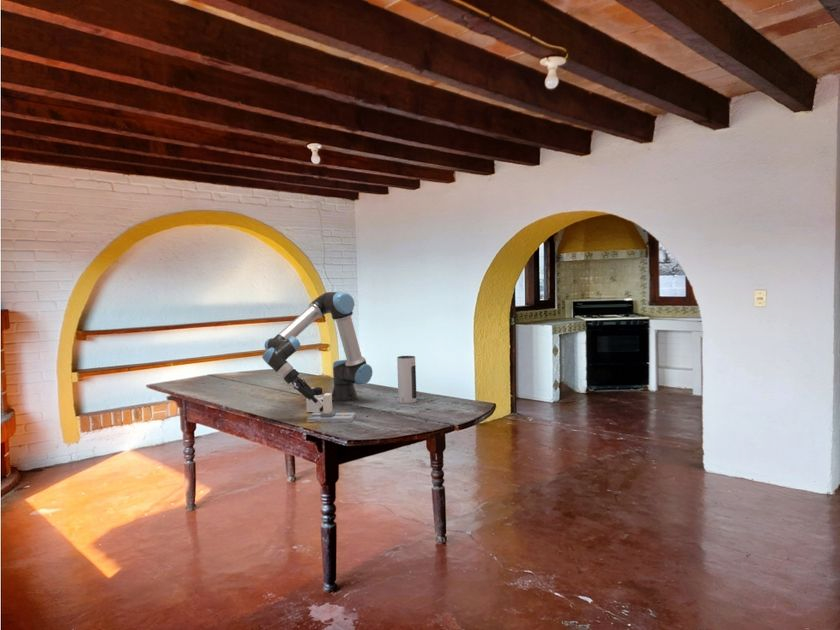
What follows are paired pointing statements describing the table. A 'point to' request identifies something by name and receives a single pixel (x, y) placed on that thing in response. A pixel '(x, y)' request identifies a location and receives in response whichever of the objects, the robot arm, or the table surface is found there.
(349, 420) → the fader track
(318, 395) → the container
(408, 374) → the speaker
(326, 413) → the fader
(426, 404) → the table surface
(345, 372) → the robot arm
